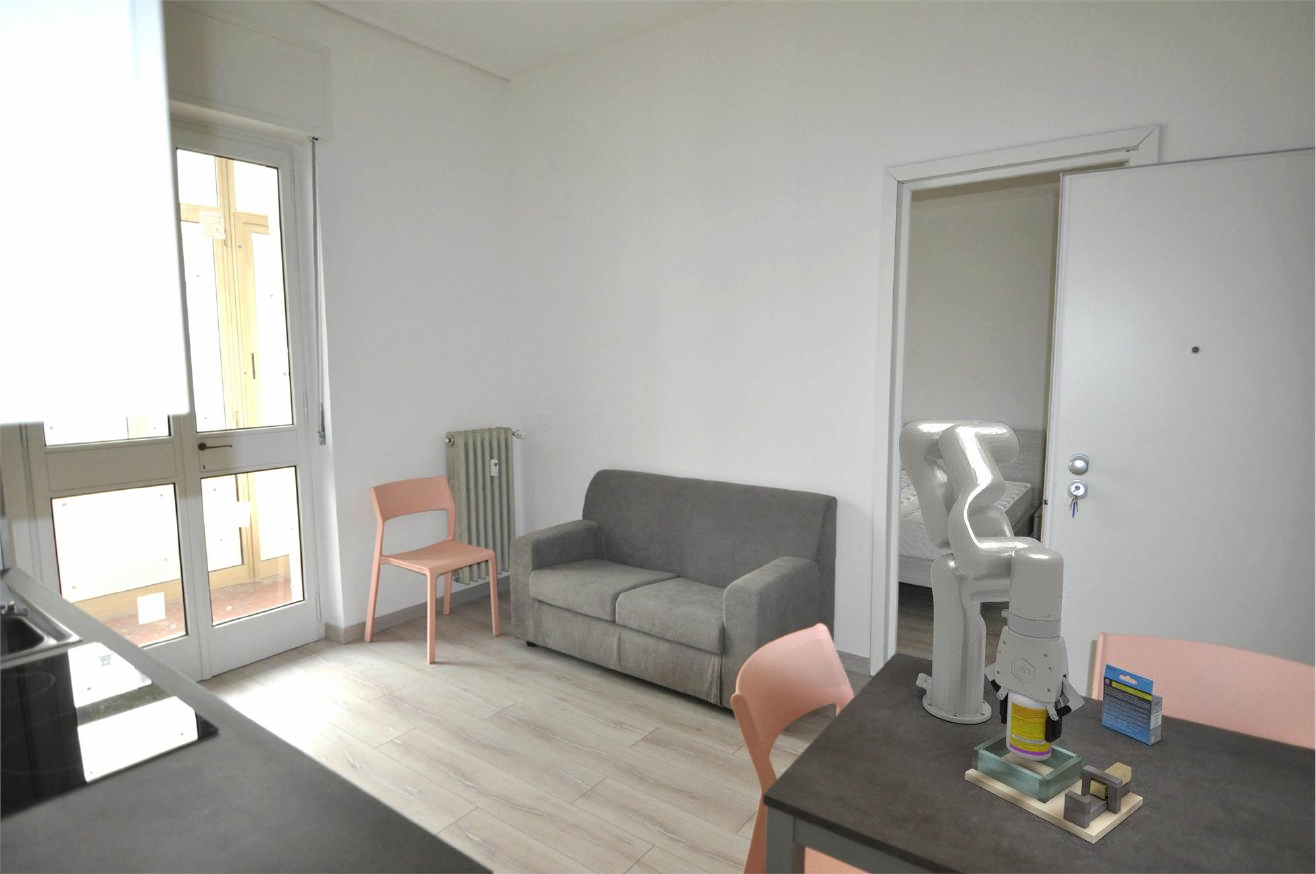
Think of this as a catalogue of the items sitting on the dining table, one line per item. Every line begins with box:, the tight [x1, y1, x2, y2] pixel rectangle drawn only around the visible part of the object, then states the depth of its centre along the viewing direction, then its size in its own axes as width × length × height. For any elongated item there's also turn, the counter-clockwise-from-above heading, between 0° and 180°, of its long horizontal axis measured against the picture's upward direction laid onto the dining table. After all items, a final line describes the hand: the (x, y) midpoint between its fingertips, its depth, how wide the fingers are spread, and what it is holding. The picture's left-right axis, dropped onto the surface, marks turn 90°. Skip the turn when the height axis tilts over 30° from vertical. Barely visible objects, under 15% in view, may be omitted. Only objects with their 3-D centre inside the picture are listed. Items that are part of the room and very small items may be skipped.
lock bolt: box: [1090, 761, 1132, 799], centre depth 113 cm, size 2×9×2 cm, turn 125°
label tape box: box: [1101, 662, 1163, 746], centre depth 134 cm, size 9×4×12 cm, turn 28°
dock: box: [964, 729, 1144, 845], centre depth 116 cm, size 20×16×6 cm
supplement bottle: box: [1006, 690, 1053, 761], centre depth 118 cm, size 7×7×13 cm
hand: (1029, 729), depth 119 cm, fingers closed on supplement bottle, 6 cm apart
